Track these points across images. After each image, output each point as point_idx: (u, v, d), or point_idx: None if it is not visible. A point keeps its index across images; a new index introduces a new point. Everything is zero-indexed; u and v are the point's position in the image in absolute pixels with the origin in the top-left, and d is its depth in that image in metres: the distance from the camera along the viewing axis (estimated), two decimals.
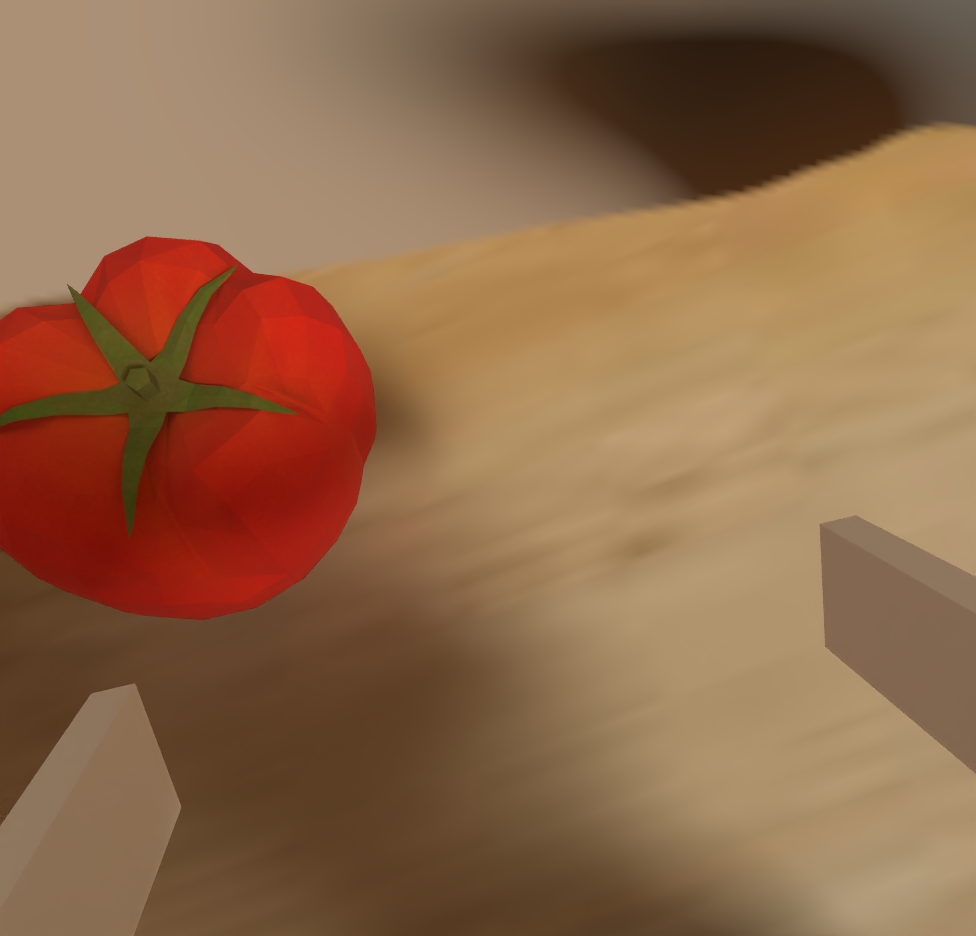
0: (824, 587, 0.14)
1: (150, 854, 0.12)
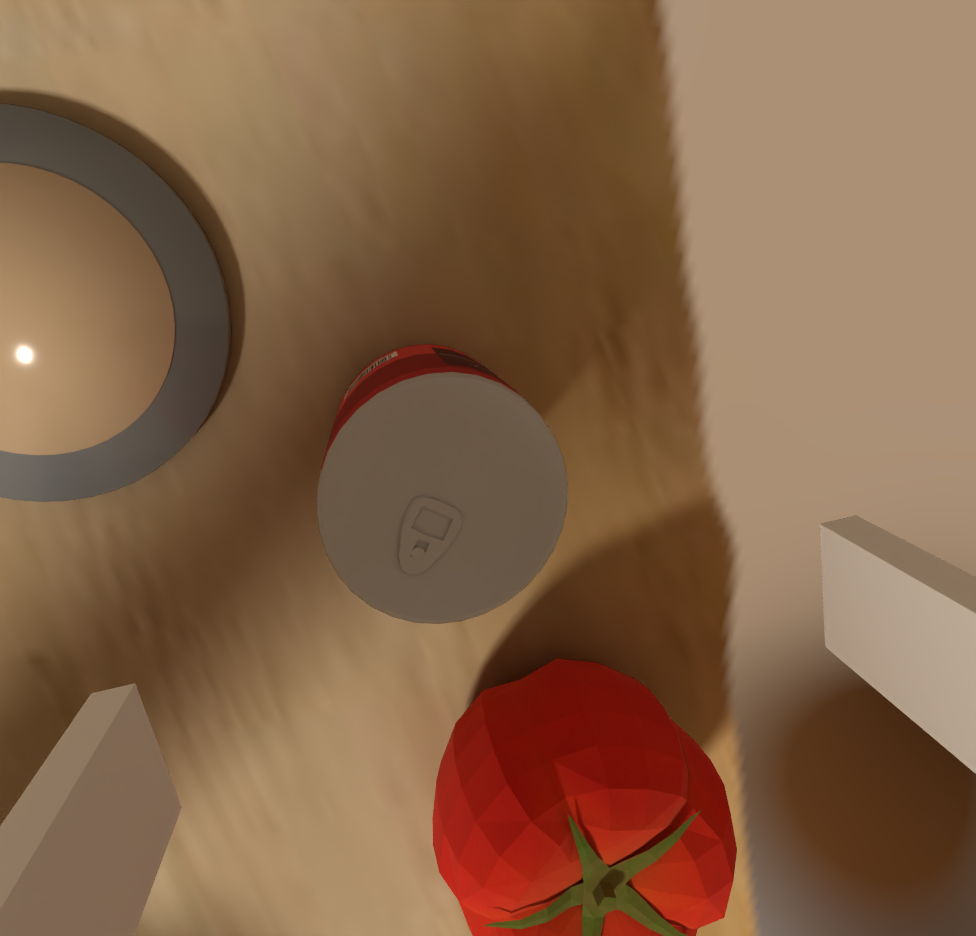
0: (825, 587, 0.14)
1: (149, 854, 0.12)
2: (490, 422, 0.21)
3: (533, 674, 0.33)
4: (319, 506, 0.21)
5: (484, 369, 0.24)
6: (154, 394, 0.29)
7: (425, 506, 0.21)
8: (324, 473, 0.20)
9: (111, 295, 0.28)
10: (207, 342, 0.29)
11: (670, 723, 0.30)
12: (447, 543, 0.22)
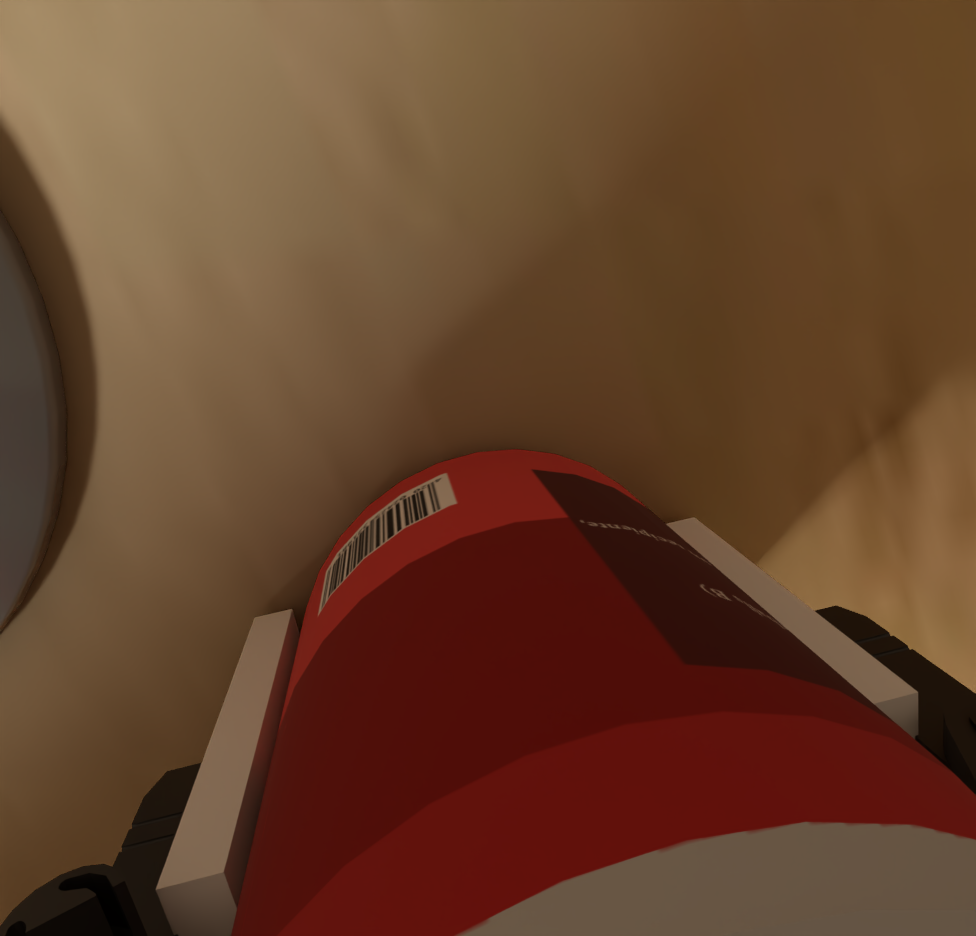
0: None
1: None
2: None
3: None
4: None
5: (750, 610, 0.08)
6: None
7: None
8: None
9: None
10: None
11: None
12: None
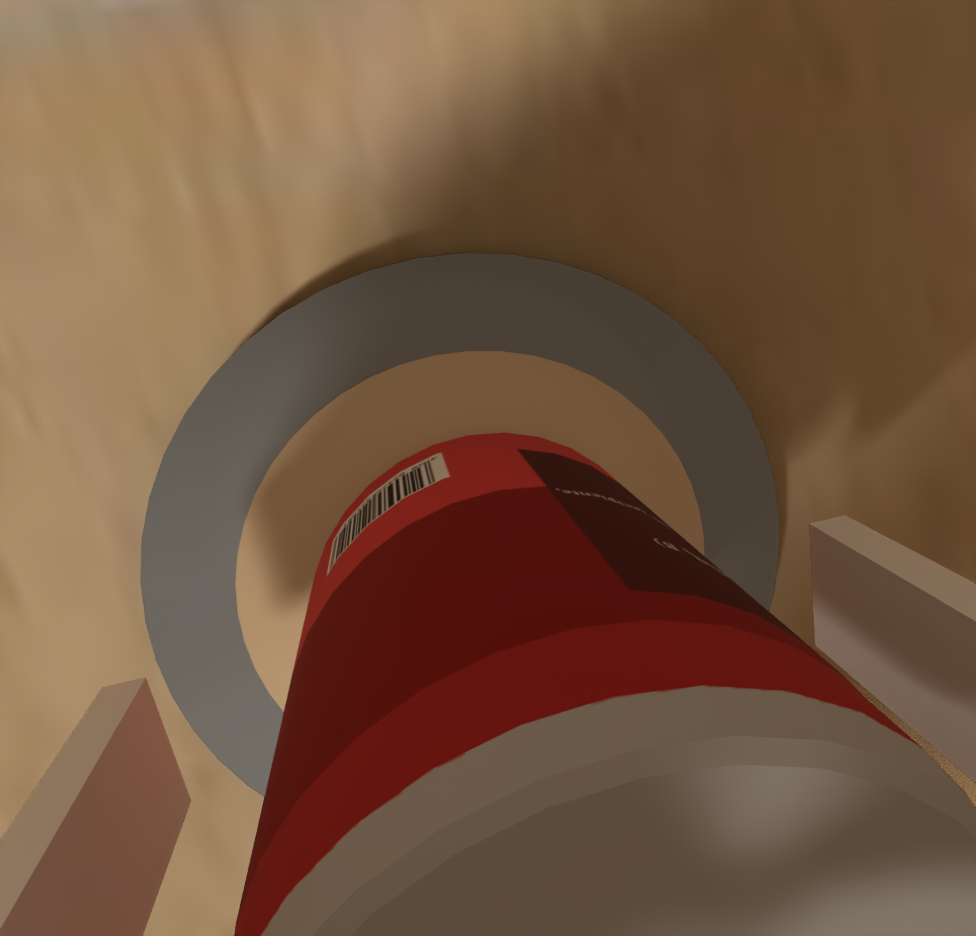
0: (814, 586, 0.14)
1: (161, 846, 0.12)
2: (828, 855, 0.06)
3: None
4: None
5: (695, 558, 0.09)
6: None
7: None
8: None
9: None
10: None
11: None
12: None
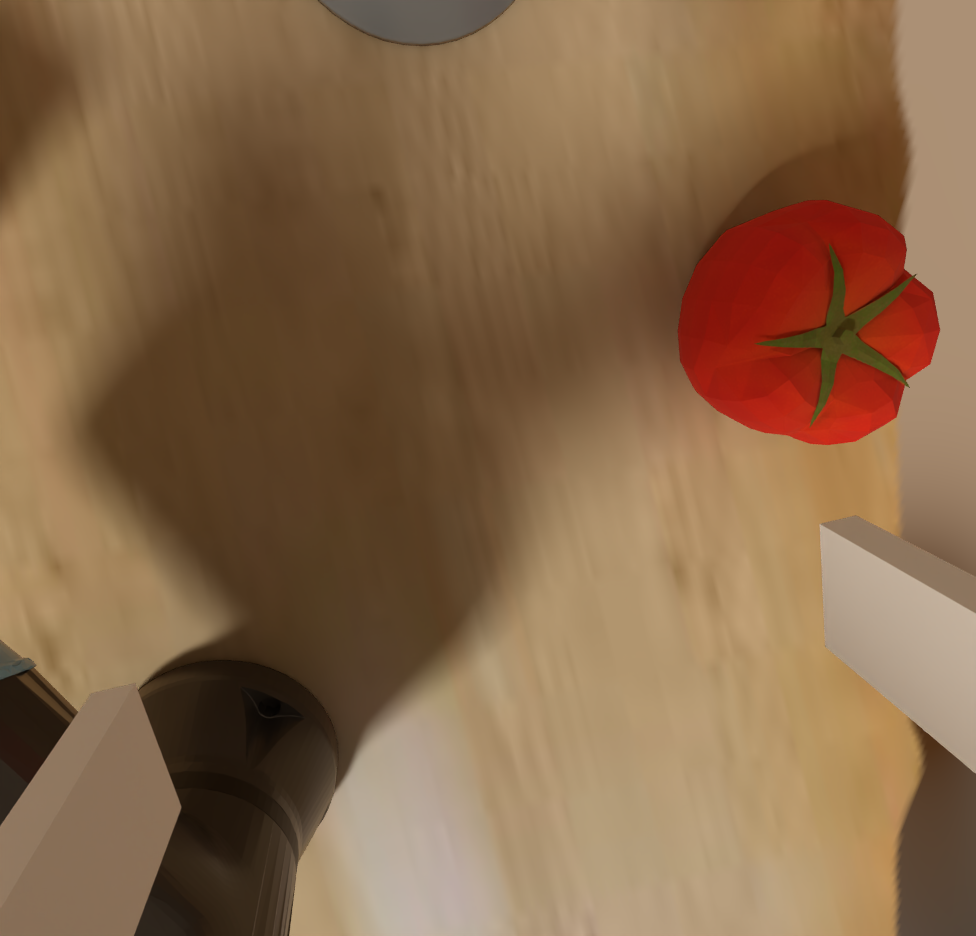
0: (824, 587, 0.14)
1: (150, 854, 0.12)
2: None
3: None
4: None
5: None
6: None
7: None
8: None
9: None
10: None
11: None
12: None
